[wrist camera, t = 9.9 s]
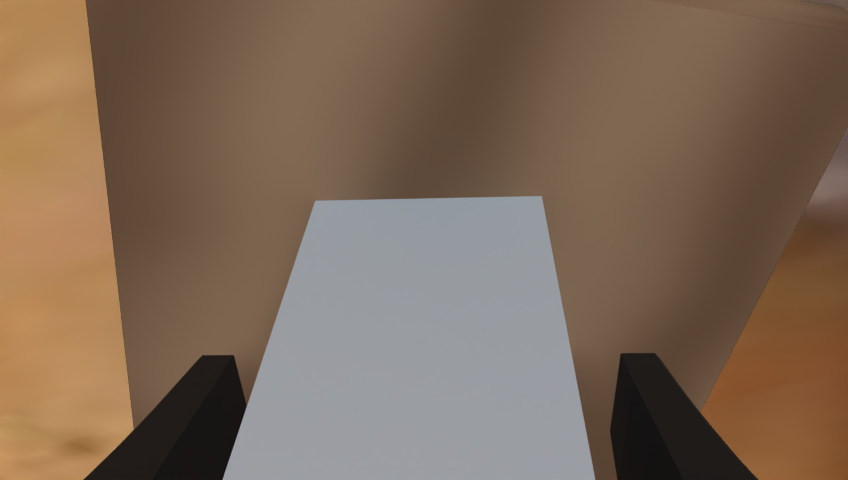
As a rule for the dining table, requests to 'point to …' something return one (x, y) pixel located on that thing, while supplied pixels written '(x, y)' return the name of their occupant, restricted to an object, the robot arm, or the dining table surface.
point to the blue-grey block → (418, 350)
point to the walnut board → (465, 158)
